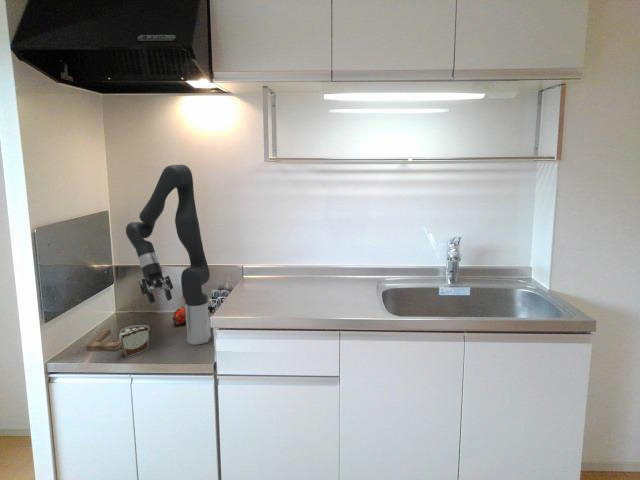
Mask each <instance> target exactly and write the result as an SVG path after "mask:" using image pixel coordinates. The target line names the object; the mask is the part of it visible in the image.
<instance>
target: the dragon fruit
mask: <svg viewBox="0 0 640 480" xmlns="http://www.w3.org/2000/svg"><path fill="white" fill-rule="evenodd" d="M172 320H173V322H174V323H175V325H176V326H178V325H182V324H185V325H186V308H185V306H181V308H179V307H178V308H177V309H176V310H175V311H174V312H173V316H172Z"/></svg>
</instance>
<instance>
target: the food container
mask: <svg viewBox="0 0 640 480" xmlns="http://www.w3.org/2000/svg"><path fill="white" fill-rule="evenodd" d="M149 331H151V329H150V326H149V325H147V324H133V325H130V326H127V327H124V328H122V329H121V330H120V332H119V335H118V340H119V339H120V340H122V350H123V354H124V357H125V358H129V357H132V356H134V355H137V354H140V353H142V352H143V353H144V351H146V352H147V351H148V350H149Z"/></svg>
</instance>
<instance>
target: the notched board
mask: <svg viewBox="0 0 640 480" xmlns="http://www.w3.org/2000/svg"><path fill="white" fill-rule="evenodd" d="M111 333H112V332H111V328H105V329H103V330H102V331H101V333H99V334H98V335H97V336H96V337H94V339H93V340H91V341H90V342H89V343H88V344H87V345H86V346H85V347H86V352H89V351H119V350H120V349H121V348H122V347H123V345H122V340H120V339H119V338H118V339H117V341H116V342H115V341H114V342H113V341H111V342H109V341H107V342H106V341H105V342H104V340H105V339H106V338H107V337H108V336H109V335H111Z"/></svg>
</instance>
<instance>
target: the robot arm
mask: <svg viewBox="0 0 640 480" xmlns="http://www.w3.org/2000/svg"><path fill="white" fill-rule="evenodd" d="M175 189H176V191H177V195H178V201H177V202H178V203H177V208H176V211H175V218H174V223H175V229H176V234H177V238H178V239H179V242H180V243H181V244H182V246H183V247H184V249H185V250H186V252H187V254H188V259H189V263H190V266H188V267H187V268H185V269H183V271H182V272H181V276H180V279H181V280H180V282H181V284H180V285H181V292H182V296H183V297H182V298H183V299H184V303H185V304H184V305H185V306H184V308H186V324H185V325H186V341H187V343H188V344H189V345H195V346H196V345H203V344H208V343H209V341H210V339H211V318H210V316H209V304H208V301H209V300H208V294H205V293H203V288H202V286H203V285H205V284H207V282H209V280H210V277H211V276H210V268H209V265H208V262H207V257H206V255H205V251H204V246H203V240H202V235H201V229H200V223H199V218H198V213H197V207H196V199H195V193H194V192H195V191H194V178H193V174H192V170H191V169H190V167H188V165H185V164H172V165H171V164H170V165H167V166H165V167H164V169H163V170H162V172H161V174H160V176H159V178H158V181H157V184H156V186H155V187H154V190H153V192H152V194H151V196H150V198H149V200H147V203H146V204H145V206H143V208H142V210H141V211H140V213H139V216H138V217H139V220H140V221H139V222H137V221H132V222H129V223H128V224H127V225H126V227H125V234H126V236H127V238H128V240H129V241H130V243H131V244H132V246H133V248H134V249H135V250H136V254H137V258H138V263H139V265H140V269H141V273H142V276H143V278H142V279H140V280H139V281H138V283H139V286H140V287H139V288H140V290H141V294H142V295H145V296H146V297H147V299H148V302H149V303H150V304H154V303H155V302H156V299H155V296H154V293H153V291H154V289H160V290H162V291H163V292H164V295H165V297H166V300H167V301H168V302H169V301H171V300H172V298H173V295H172V293H171V290H172V289H174V286H173V282H172V279H171V278H170V276H169V275H167V276H163V270H162V266H161V264H160V262H159V257H158V256H157V253H156V251H155V247H154V245H153V243H152V242H151V241H149V240H146V239H147V238H149V237H151V236H152V234H153V231H154V229H155V225H156V222H157V220H158V219H159V218H160V217H161V215H162V214H163V211H164V209H165V205H166V200H167V198H168V196H169V195H170V193H171V192H172V191H173V190H175Z"/></svg>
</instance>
